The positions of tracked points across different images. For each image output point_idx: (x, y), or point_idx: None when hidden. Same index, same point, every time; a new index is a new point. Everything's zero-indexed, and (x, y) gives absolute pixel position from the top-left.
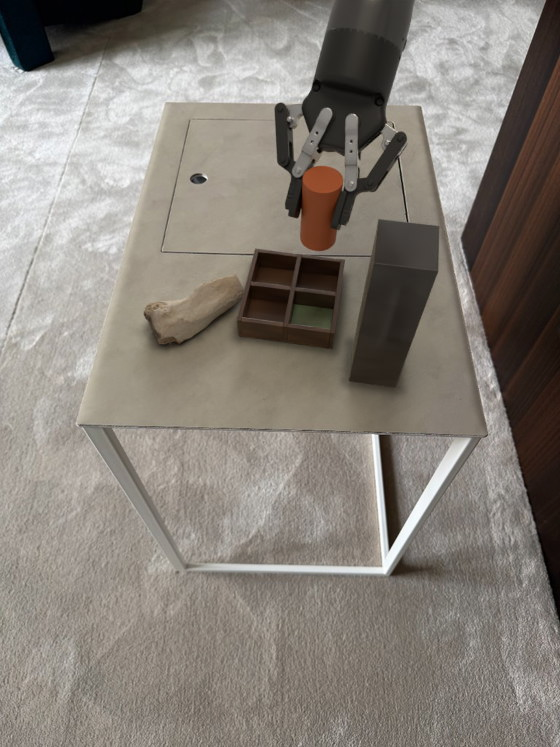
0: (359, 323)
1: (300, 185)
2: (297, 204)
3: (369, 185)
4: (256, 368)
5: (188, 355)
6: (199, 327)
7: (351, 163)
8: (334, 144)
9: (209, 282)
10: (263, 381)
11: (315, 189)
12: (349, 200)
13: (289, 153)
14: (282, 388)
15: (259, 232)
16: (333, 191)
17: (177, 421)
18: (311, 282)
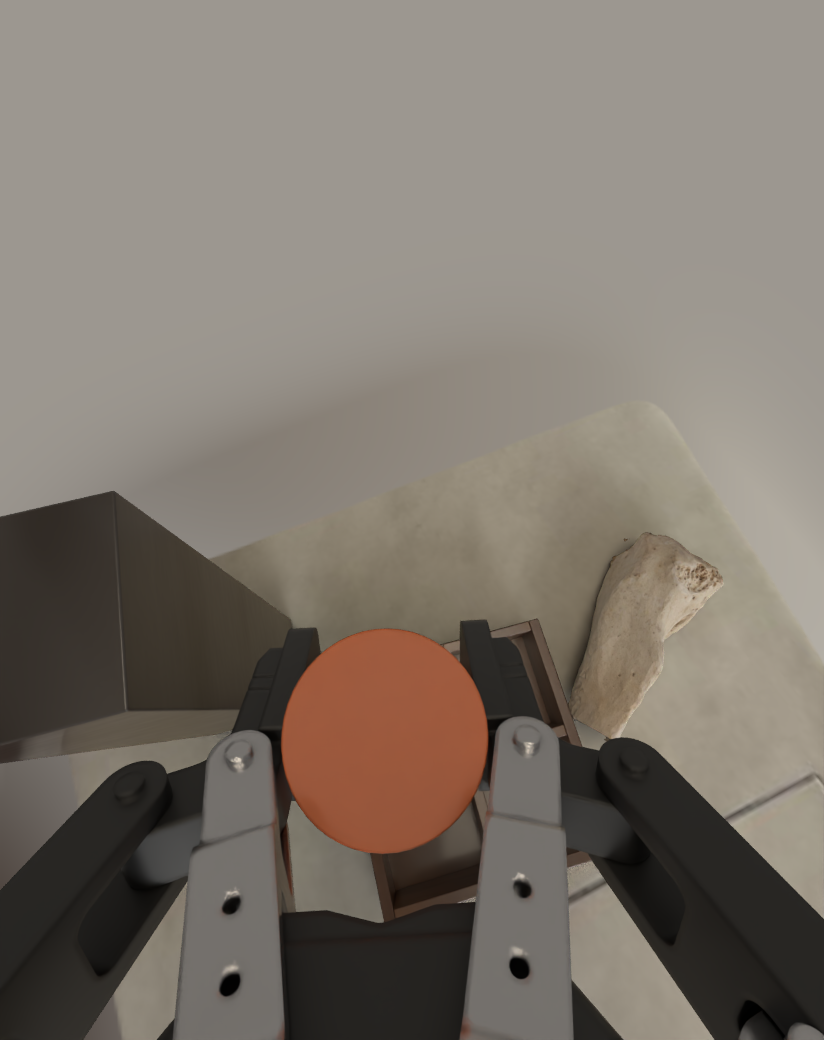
0: (253, 627)
1: (484, 697)
2: (465, 648)
3: (133, 771)
4: (459, 575)
5: (584, 550)
6: (600, 597)
7: (230, 837)
8: (371, 949)
9: (647, 681)
10: (435, 556)
11: (390, 641)
12: (250, 719)
13: (644, 887)
14: (398, 557)
15: (654, 968)
16: (308, 670)
17: (526, 439)
18: (448, 836)
